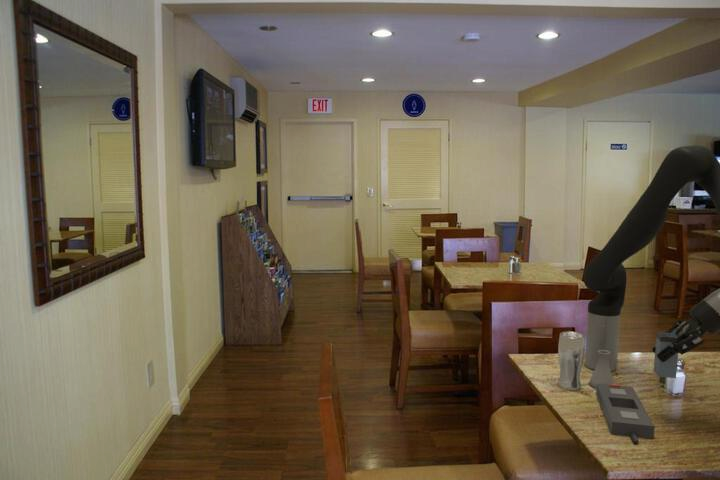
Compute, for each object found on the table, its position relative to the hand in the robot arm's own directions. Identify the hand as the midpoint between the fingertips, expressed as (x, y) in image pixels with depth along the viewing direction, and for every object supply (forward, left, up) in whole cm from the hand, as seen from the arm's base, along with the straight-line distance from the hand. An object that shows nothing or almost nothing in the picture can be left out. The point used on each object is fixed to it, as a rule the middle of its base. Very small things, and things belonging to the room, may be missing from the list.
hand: (657, 355), depth 140 cm
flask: (-19, -9, -16) cm, 26 cm away
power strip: (+2, -7, -16) cm, 17 cm away
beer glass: (-16, -18, -16) cm, 29 cm away
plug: (0, +2, -5) cm, 5 cm away
